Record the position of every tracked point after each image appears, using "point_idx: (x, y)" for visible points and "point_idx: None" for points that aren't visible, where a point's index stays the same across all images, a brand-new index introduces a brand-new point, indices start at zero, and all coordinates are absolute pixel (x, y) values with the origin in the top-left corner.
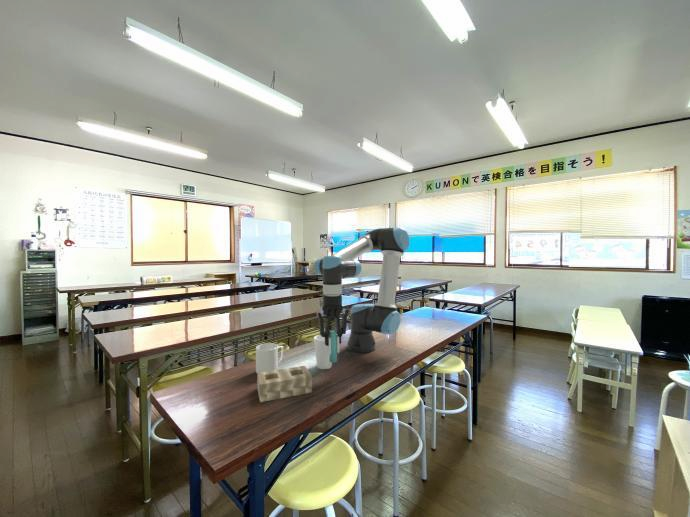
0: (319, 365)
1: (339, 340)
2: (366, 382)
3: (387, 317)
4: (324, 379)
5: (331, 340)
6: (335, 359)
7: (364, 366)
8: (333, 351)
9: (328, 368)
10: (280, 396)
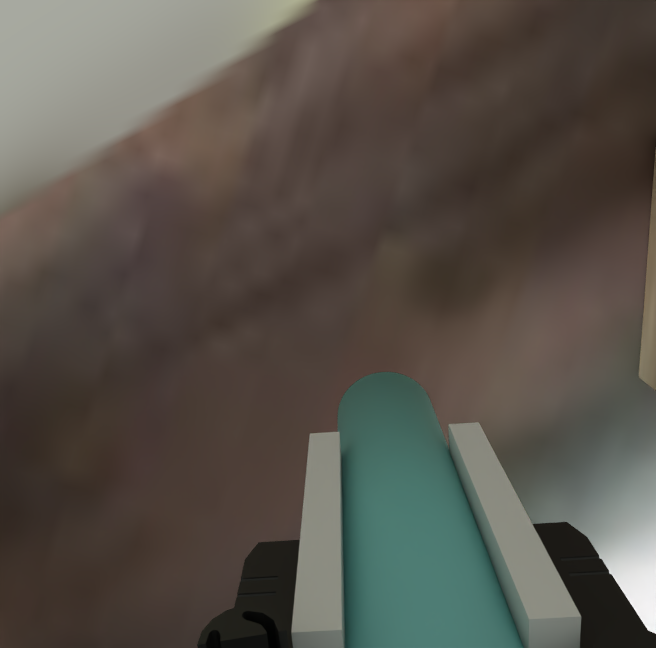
0: None
1: (280, 588)
2: (90, 172)
3: None
4: (459, 349)
5: (486, 583)
6: (371, 388)
7: (23, 489)
8: (413, 442)
9: None
10: None
